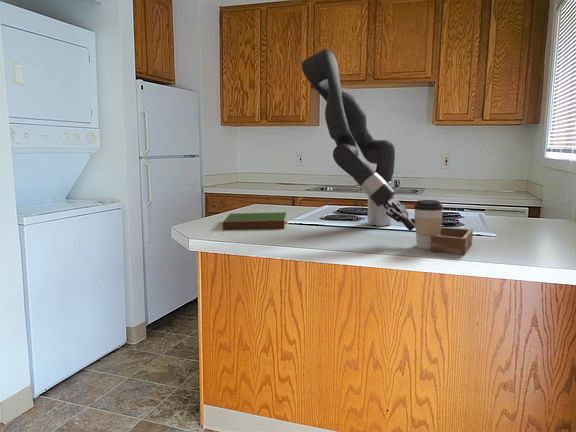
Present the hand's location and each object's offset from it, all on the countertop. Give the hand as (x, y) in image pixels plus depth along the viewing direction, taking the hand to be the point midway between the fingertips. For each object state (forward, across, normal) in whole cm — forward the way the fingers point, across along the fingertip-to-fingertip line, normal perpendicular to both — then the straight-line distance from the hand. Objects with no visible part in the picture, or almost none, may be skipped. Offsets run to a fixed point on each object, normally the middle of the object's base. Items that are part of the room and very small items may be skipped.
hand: (413, 228), depth 153 cm
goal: (+12, +1, -5) cm, 13 cm away
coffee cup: (+7, 0, 0) cm, 7 cm away
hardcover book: (-43, +8, +52) cm, 67 cm away
